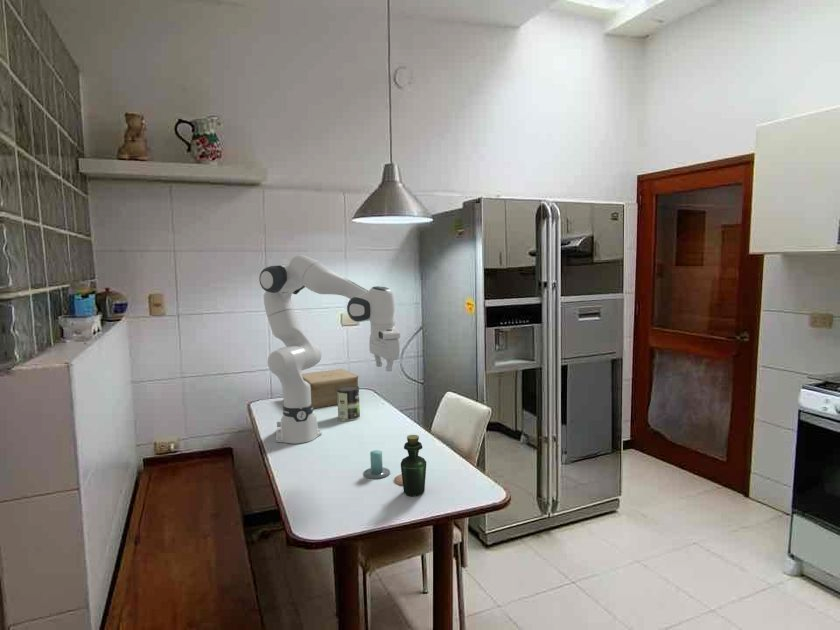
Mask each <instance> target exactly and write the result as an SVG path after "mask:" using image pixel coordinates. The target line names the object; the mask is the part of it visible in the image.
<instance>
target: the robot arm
mask: <svg viewBox="0 0 840 630" xmlns="http://www.w3.org/2000/svg"><path fill="white" fill-rule="evenodd" d="M259 273H260V274H259V277H258V278H259V285H260V287H261V288H262V289H263V290H264V294H263V304H264V311H265V314H266V318H267V320H268V323H269V327H270V329H271V333H272V335H273V336H274V337H275V339H276V338H277V339H278V340H280V341H281V342H282V343H283V344H284V346H283V347H280V348H278V349H276V350H274V351H272V352H270V354H269V355H268V358H267V367H268V369H269V371H270V372H271V373H272V374H273V375H274V376H276V377H277V378H278V380H279V383H280V384H281V388H282V395H283V405H282V416H281V418H280V421H277V422H276V427H277V428H276V429H275V442H276V443H285V444H303V443H308V442H311V441H314V440H315V439H317V437H319V436H321V435H322V434H323V433H322V430H320V429H319V425H318V419H317V415H316V414H314V413H313V412H314V408H313V405H312V403H311V387H310V384H309V383H308V382H306V381H304V380H303V377H302V374H303V373H302V371H304V370H308V369H311V368H313V367H314V366H316V365H317V364H319V363H320V362H321V360H322V351H321V348H320V346H319V345H317V344H316V343H315V342H313V341H311V339H310V338H309V337H308V336H307V335H306V333H305V332H304V330H303V329H302V327H301V325H300V322H299V320H298V318H297V314H296V311H295V309H294V305H293V302H292V295H297V294H298V293H300V292H301V291H302V290H303V289H305V288H306V289H308V290H309V291H311V292H313V293H314V294H315V293H316V294H318V295H332V296H333V295H334V296H335V295H337V296H343V297H346V298H348V300H349V301H348V303H347V304H346V305H347V306H346V312H347V315H348V318H350V319H351V320H352V321H354V322H357V323H358V322H359V323H361V322H363V323H364V322H368V321H369V322H370V334H369V342H368V343H369V344H368V347H369V349H368V350H369V353H370V354H372V355H374V356H373V357H374V360H375V365H376V367H378V368H380V367H382V366H383V362H382V359H384V360H386V366H385V370H386V372H389V373H390V372H392V371H393V365H394V361H398V360H399V359H400V340H399V339H401V333H400V331H399V330H398V329H397V327H396V321H395V318H394V314H395V300H394V299H395V298H394V294H393V291H392V289H390V288H388V287H386V286H379V285H378V286H372V287H371V288H369V290H367V289H366V288H364V287H362V286H360V285H359V284H358V283H355V282H353V281H352V280H350V279H347V278H346V277H344V276H342V275H341V274H339V273H337V272H336V271H334V270H332V269H331V268H329V267H327V266H326V265H325V264H324V263H321V262H320V261H318V260H316V259H315V258H312V257H310V256H308V255H305V254H297V255H295V256H293V258H292V259H291V260H290V262H289V264H280V265H279V264H278V265H270V266H267V267H265V268H263V269H262V270H261V271H260V272H259ZM381 358H382V359H381Z"/></svg>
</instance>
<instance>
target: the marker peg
mask: <svg viewBox="0 0 840 630" xmlns="http://www.w3.org/2000/svg"><path fill="white" fill-rule="evenodd" d="M369 453H370V468H371V473H372V474H375V475H377V474H381V473H382V472H383V451H382V450H379V449H377V450H375V449H374V450H371V451H370V452H369Z"/></svg>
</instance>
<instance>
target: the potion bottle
mask: <svg viewBox="0 0 840 630" xmlns="http://www.w3.org/2000/svg"><path fill="white" fill-rule="evenodd" d="M419 438H420V436H419V435H417V434H409V435H407V436H406V440H407V442H406V441H405V443H404V445H403V449H404V450H406V451H407V456H406V457H404V458H402V460H401V462H400V470H401V473H400V474H402V481H403V486H402V488H403V489H402V490H403V493H404V494H405V496H408V497H419V496H422V495H423V494H424V493H425V489H426V486H425V485H426V476H427V475H426V474H427V461H426V459H425V458H424V457H422V456H420V455H419V451H420V450H422V449H423V445H422V443H421V442H420V441H419V440H420V439H419Z"/></svg>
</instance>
